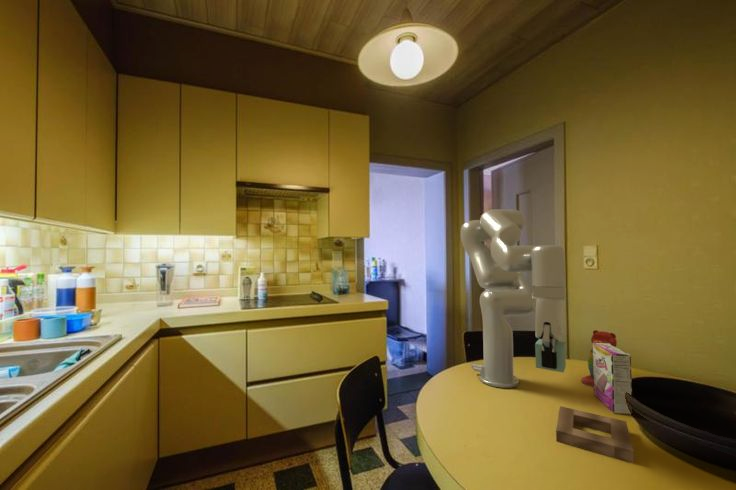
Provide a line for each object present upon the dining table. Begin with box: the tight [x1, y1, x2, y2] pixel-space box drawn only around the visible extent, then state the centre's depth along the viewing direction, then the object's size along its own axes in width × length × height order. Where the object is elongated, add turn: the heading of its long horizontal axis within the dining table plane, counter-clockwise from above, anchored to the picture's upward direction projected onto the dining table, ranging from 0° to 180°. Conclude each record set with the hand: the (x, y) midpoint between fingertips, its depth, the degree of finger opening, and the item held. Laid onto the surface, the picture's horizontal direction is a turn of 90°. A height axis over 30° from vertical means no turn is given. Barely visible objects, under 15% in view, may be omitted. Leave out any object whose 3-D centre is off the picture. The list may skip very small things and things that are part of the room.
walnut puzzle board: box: [555, 405, 635, 464], centre depth 76 cm, size 14×14×2 cm
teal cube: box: [534, 338, 567, 374], centre depth 81 cm, size 6×6×6 cm
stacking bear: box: [580, 329, 618, 387], centre depth 104 cm, size 11×10×18 cm
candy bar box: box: [591, 342, 633, 416], centre depth 91 cm, size 11×5×16 cm, turn 168°
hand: (551, 363), depth 81 cm, fingers closed on teal cube, 6 cm apart
